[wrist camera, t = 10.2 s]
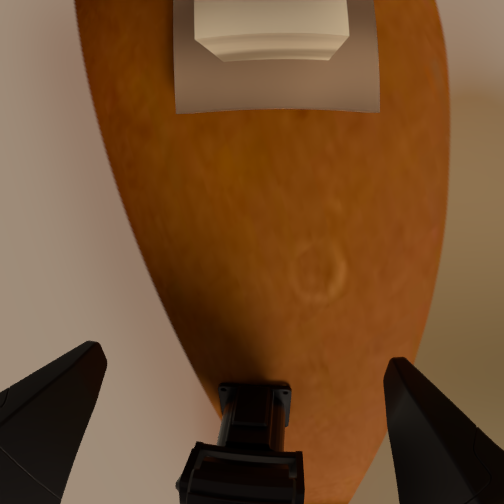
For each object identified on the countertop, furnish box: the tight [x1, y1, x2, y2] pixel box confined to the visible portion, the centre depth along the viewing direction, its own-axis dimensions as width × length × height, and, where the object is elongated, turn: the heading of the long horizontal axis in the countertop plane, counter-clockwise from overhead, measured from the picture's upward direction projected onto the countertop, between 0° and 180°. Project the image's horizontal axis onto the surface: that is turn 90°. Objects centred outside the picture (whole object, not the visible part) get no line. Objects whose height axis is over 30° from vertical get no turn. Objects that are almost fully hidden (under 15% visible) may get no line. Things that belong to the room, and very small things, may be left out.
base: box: [173, 0, 380, 114], centre depth 13 cm, size 10×10×3 cm
